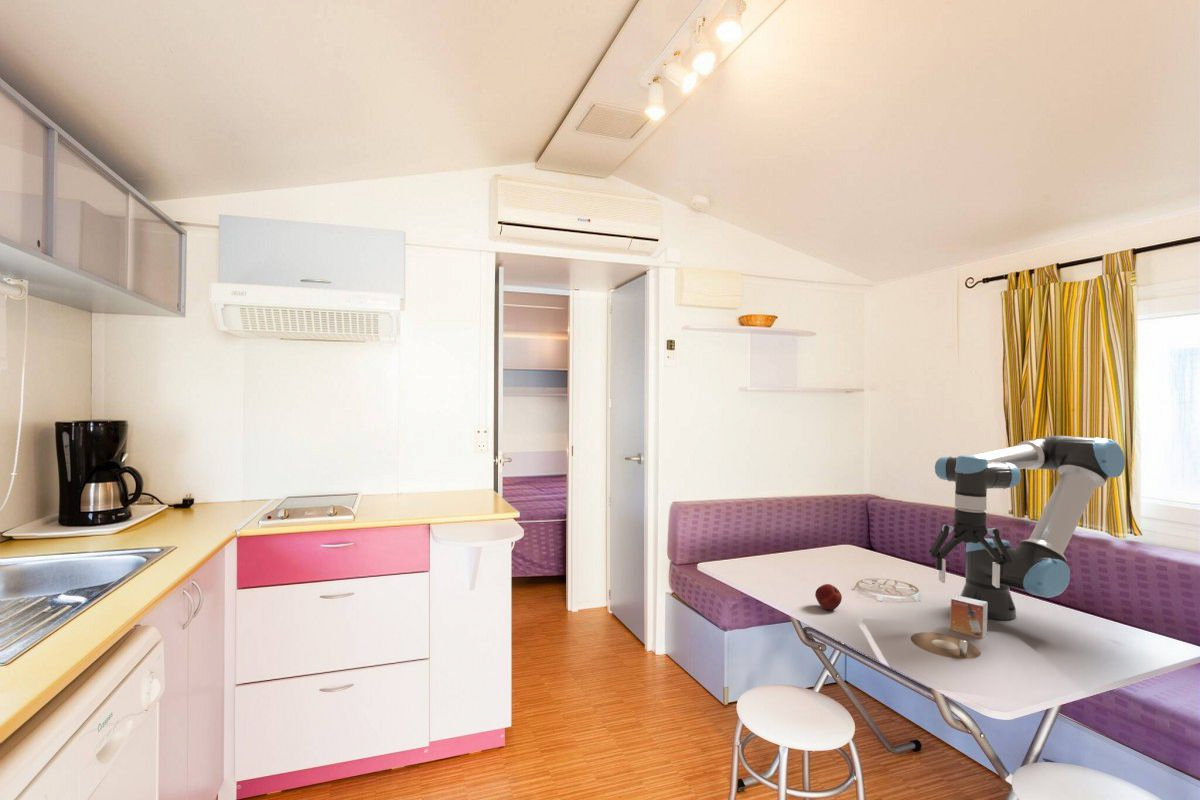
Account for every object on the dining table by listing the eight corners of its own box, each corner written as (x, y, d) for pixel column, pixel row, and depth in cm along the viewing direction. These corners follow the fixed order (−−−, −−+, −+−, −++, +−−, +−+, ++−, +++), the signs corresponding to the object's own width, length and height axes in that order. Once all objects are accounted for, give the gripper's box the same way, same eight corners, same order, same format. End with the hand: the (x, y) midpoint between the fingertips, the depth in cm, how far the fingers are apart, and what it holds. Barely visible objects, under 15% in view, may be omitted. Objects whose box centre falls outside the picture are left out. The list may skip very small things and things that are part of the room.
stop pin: (965, 655, 142) (965, 639, 142) (968, 658, 140) (968, 642, 140) (958, 654, 142) (958, 639, 142) (961, 657, 140) (961, 641, 140)
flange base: (966, 641, 153) (966, 635, 153) (992, 668, 138) (992, 662, 138) (903, 634, 157) (903, 629, 157) (921, 660, 142) (921, 653, 142)
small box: (949, 635, 158) (950, 598, 158) (954, 629, 162) (955, 593, 162) (982, 644, 152) (983, 606, 152) (987, 638, 156) (987, 601, 156)
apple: (833, 615, 171) (833, 589, 171) (810, 607, 177) (810, 583, 177) (845, 610, 175) (845, 585, 176) (822, 602, 181) (822, 578, 182)
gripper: (1013, 510, 157) (1012, 584, 157) (917, 504, 163) (916, 575, 163) (1027, 515, 150) (1025, 592, 150) (926, 509, 156) (924, 583, 156)
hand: (968, 584), depth 157 cm, fingers open, 13 cm apart
